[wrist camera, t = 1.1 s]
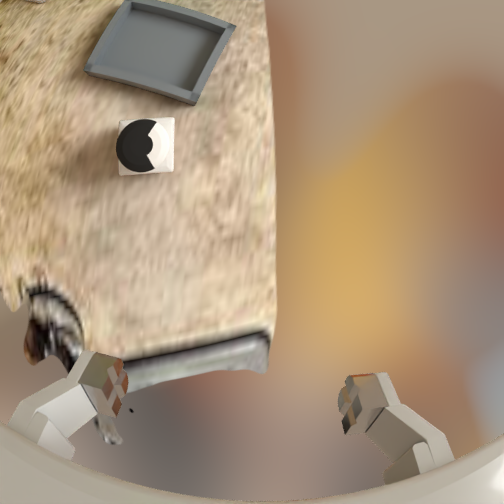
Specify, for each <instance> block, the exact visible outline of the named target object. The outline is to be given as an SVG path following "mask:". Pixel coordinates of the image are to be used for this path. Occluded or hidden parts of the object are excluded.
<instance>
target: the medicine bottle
mask: <svg viewBox="0 0 504 504" xmlns="http://www.w3.org/2000/svg"><path fill="white" fill-rule="evenodd" d="M116 152H117V156H118V159H119V175H121V176H123V175H135V174H150V173H167V172H172V171H173V169H174V118H173V117H163V118H144V119H131V120H121V121H120V122H119V137H118V139H117V143H116Z"/></svg>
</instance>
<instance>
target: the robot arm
mask: <svg viewBox="0 0 504 504" xmlns="http://www.w3.org/2000/svg"><path fill="white" fill-rule="evenodd" d="M27 1H32V2H36V3H43V2H45V1H46V0H27ZM123 365H124V364H123V362H122V359H120V358H117V357H113V356H109V355H105V354H101V353H98V352H94V351H90V350H84V351H83V352H82V353H81V355H80V356H79V358H78V360H77V361H76V363H75V364H74V366H73V368H72V370H71V371H70V373H69V375H68V376H67V378H66V379H65V378H62V379H60V380H59V381H57V382H55V383H53V384H51V385H50V386H48V387H46V388H44V389H42V390H40V391H39V392H37V393H35V394H33V395H31V396H30V397H28V398H26V399H24V400H22V401H21V402H20V403H19V405H18V407H17V408H16V410H15V412H14V414H13V415H12V417H11V419H10V421H9V423H8V425H5V424H4V423H2V422H1V421H0V504H504V434H502V435H501V436H499V437H497V438H496V439H494V440H492V441H491V442H489V443H487V444H485V445H483V446H482V447H480V448H478V449H476V450H474V451H472V452H470V453H468V454H466V455H464V456H462V457H460V458H458V459H456V460H454V457H453V454H452V452H451V449H450V447H449V444H448V442H447V439H446V437H445V434H444V433H442V432H441V431H439V430H438V429H437V428H435V427H434V426H433V425H431V424H430V423H428V422H427V421H426V420H425V419H423V418H422V417H421V416H419V415H418V414H416V413H415V412H414V411H412V410H411V409H410V408H409V407H407V406H406V405H404V404H400V401H399V399H398V397H397V394H396V392H395V389H394V387H393V385H392V382H391V380H390V378H389V375H388V374H387V373H386V372H382V373H370V374H358V375H349V376H348V377H347V378H346V380H345V384H346V386H345V387H343V388H342V389H341V391H340V393H339V397H338V407H339V412H341V413H342V414H343V415H344V418H343V420H342V425H343V429H344V434H345V435H351V434H360V433H365V434H366V435H367V436H368V438H369V439H370V440H371V441H372V442H373V443H374V444H375V445H376V446H377V447H378V448H379V449H380V450H381V451H382V452H383V453H384V454H385V456H386V457H387V458H388V459H389V460H390V461H391V462H392V463H393V464H392V465H391V466H389V467H388V468H387V469H386V470H385V471H384V472H383V473H382V474H383V478H384V482H385V485H384V486H380V487H376V488H372V489H367V490H363V491H358V492H353V493H348V494H342V495H336V496H329V497H322V498H314V499H303V500H288V501H238V500H236V501H235V500H223V499H212V498H204V497H195V496H188V495H183V494H177V493H172V492H167V491H162V490H158V489H153V488H149V487H145V486H141V485H138V484H134V483H130V482H127V481H123V480H120V479H117V478H114V477H111V476H108V475H105V474H102V473H100V472H97V471H94V470H92V469H89V468H87V467H84V466H82V465H79V464H77V463H75V462H73V461H71V460H72V458H73V455H74V452H75V448H74V446H73V445H72V444H71V443H70V442H69V441H68V440H67V439H66V438H68V437H69V436H70V435H71V434H73V433H74V432H75V431H76V430H78V429H79V428H80V427H81V426H83V425H84V424H85V423H86V422H88V421H89V420H90V419H91V418H93V417H94V416H95V415H96V414H97V412H98V413H101V414H105V415H109V416H113V417H117V415H118V413H119V410H120V408H121V405H122V403H121V401H120V398H122V397H123V396H125V395H126V392H127V389H128V376H127V373H126V372H125V371H124V370H123V369H122V367H123Z"/></svg>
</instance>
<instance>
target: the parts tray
mask: <svg viewBox="0 0 504 504" xmlns="http://www.w3.org/2000/svg"><path fill="white" fill-rule="evenodd" d="M235 28H236V26H235V25H233V24H231V23H228V22H225V21H223V20H220V19H217V18H215V17H212V16H209V15H206V14H203V13H200V12H197V11H194V10H191V9H188V8H184V7H181V6H177V5H173V4H170V3H166V2H162V1H157V0H124V2H123V3H122V5H121V6H120V8H119V9H118V10H117V12H116V13H115V15H114V16H113V18H112V20H111V21H110V23H109V24H108V26H107V27H106V29H105V31H104V32H103V34H102V36H101V37H100V39H99V41H98V43H97V45H96V46H95V48H94V50H93V52H92V54H91V56H90V58H89V59H88V61H87V63H86V65H85V67H84V69H83V71H85V72H86V73H87V74H88V75H89V76H93V77H98V78H102V79H106V80H111V81H115V82H119V83H122V84H126V85H130V86H134V87H137V88H141V89H144V90H148V91H151V92H154V93H157V94H161V95H164V96H167V97H170V98H173V99H176V100H179V101H182V102H185V103H187V104H190V105H193V106H195V104H196V103H197V101H198V99H199V96H200V94H201V92H202V90H203V88H204V86H205V84H206V82H207V80H208V78H209V76H210V74H211V72H212V70H213V68H214V66H215V64H216V62H217V60H218V58H219V56H220V55H221V53H222V51H223V49H224V47H225V45H226V44H227V42H228V40H229V38H230V37H231V35H232V33H233V31H234V30H235Z"/></svg>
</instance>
